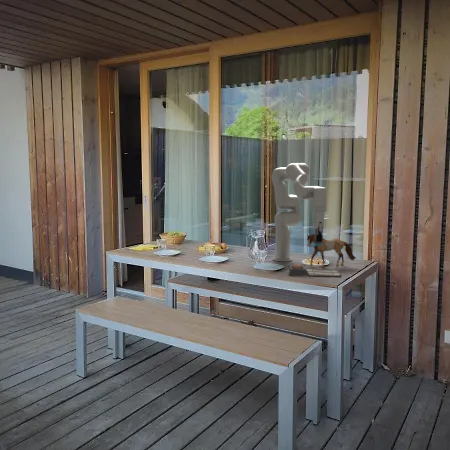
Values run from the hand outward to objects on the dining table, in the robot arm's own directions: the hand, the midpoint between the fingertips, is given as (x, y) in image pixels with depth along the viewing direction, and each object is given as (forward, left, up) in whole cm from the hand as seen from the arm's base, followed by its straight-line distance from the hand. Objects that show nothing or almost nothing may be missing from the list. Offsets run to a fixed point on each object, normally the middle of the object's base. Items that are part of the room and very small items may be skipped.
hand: (318, 240), depth 266 cm
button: (0, -12, -17) cm, 20 cm away
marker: (0, 0, -3) cm, 3 cm away
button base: (0, -12, -19) cm, 22 cm away
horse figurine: (-17, +10, -19) cm, 28 cm away
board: (0, +3, -19) cm, 19 cm away
